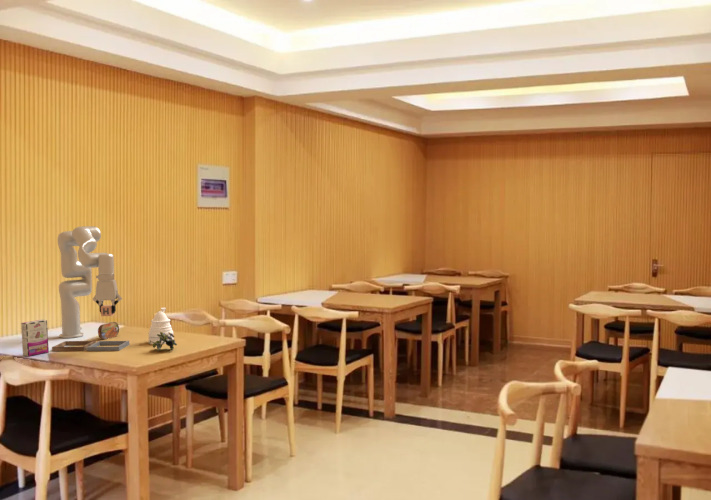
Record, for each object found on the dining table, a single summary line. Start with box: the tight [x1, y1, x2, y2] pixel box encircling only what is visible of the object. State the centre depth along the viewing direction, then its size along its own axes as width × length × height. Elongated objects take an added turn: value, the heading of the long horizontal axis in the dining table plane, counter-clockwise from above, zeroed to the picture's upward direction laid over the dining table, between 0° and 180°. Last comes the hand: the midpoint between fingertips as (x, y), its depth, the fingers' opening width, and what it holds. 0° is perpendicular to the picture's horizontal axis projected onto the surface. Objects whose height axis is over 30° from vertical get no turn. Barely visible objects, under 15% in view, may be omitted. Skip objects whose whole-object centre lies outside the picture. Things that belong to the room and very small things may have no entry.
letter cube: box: [100, 304, 115, 317], centre depth 347 cm, size 5×5×5 cm
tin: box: [97, 321, 120, 340], centre depth 376 cm, size 15×3×8 cm, turn 161°
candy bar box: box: [20, 319, 50, 357], centre depth 334 cm, size 11×5×16 cm, turn 148°
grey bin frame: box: [86, 340, 130, 352], centre depth 349 cm, size 16×16×2 cm
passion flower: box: [148, 332, 178, 352], centre depth 340 cm, size 11×11×12 cm
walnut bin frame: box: [51, 340, 97, 352], centre depth 349 cm, size 16×16×2 cm
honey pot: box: [148, 307, 175, 345], centre depth 362 cm, size 13×13×18 cm
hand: (107, 312), depth 348 cm, fingers closed on letter cube, 5 cm apart
